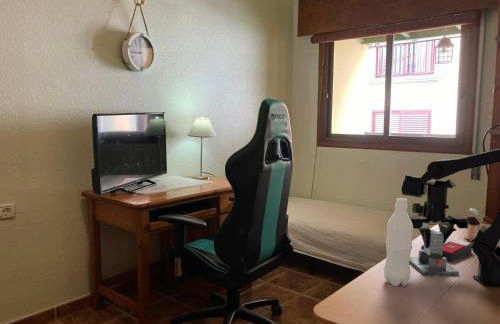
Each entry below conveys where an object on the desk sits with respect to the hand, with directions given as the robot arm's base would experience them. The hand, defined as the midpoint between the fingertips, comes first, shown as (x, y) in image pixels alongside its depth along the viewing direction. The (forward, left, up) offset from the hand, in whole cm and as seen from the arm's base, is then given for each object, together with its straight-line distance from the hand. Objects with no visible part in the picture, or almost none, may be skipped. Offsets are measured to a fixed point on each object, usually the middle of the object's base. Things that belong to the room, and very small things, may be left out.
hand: (433, 248), depth 130 cm
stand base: (0, 0, -6) cm, 6 cm away
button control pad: (+13, -12, -7) cm, 19 cm away
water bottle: (-11, +16, -7) cm, 21 cm away
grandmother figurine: (+27, -29, -7) cm, 40 cm away
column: (0, 0, -2) cm, 2 cm away
